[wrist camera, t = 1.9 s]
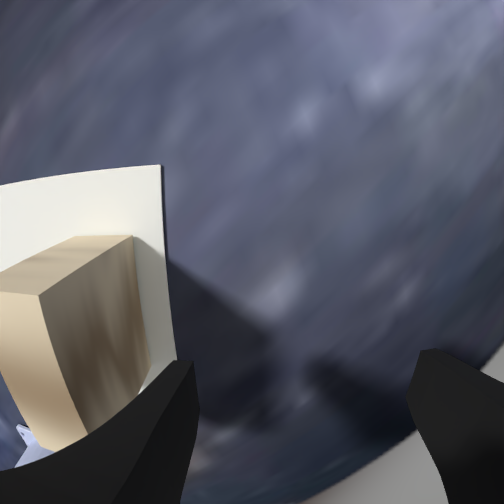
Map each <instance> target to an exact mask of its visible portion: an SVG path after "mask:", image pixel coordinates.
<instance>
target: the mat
mask: <svg viewBox="0 0 504 504" xmlns="http://www.w3.org/2000/svg"><path fill="white" fill-rule="evenodd" d="M97 235H133V246H134V256H135V265H136V274H137V282H138V290H139V297H140V304H141V311H142V317H143V323H144V329H145V335H146V340H147V346H148V351H149V356H150V361H151V368H150V370H149V372H148V374H147V376H146V379H145V381H144V383H143V385H142V387H141V389H140V391H139V394H140V393H141V392H142V391H143V390H144V389H145V388H146V387H147V386H148V385H149V384H150V383H151V382H152V381H153V380H154V379H155V378H156V377H157V376H158V375H159V374H160V373H161V372H162V371H163V370H164V369H165V368H166V367H167V366H168V365H169V364H170V363H171V362H172V361H173V360H177V355H176V348H175V341H174V334H173V326H172V318H171V309H170V301H169V291H168V281H167V270H166V258H165V245H164V230H163V212H162V187H161V165H149V166H136V167H125V168H115V169H105V170H96V171H88V172H80V173H72V174H65V175H58V176H52V177H45V178H39V179H33V180H27V181H22V182H17V183H11V184H6V185H1V186H0V272H2V271H3V270H5V269H7V268H9V267H11V266H13V265H15V264H17V263H19V262H21V261H23V260H25V259H27V258H29V257H31V256H33V255H35V254H37V253H39V252H41V251H43V250H46V249H48V248H50V247H52V246H54V245H56V244H58V243H61V242H63V241H65V240H67V239H69V238H72V237H74V236H97Z"/></svg>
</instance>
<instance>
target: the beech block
mask: <svg viewBox="0 0 504 504" xmlns="http://www.w3.org/2000/svg"><path fill="white" fill-rule="evenodd" d="M150 368H151V361H150V356H149V351H148V346H147V340H146V335H145V329H144V323H143V317H142V311H141V304H140V297H139V290H138V282H137V274H136V265H135V256H134V246H133V235H97V236H74V237H72V238H69V239H67V240H65V241H63V242H61V243H58V244H56V245H54V246H52V247H50V248H48V249H46V250H43V251H41V252H39V253H37V254H35V255H33V256H31V257H29V258H27V259H25V260H23V261H21V262H19V263H17V264H15V265H13V266H11V267H9V268H7V269H5V270H3V271H2V272H0V371H1V374H2V376H3V378H4V380H5V382H6V385H7V387H8V389H9V391H10V393H11V395H12V397H13V399H14V401H15V403H16V405H17V407H18V409H19V411H20V412H21V414H22V416H23V418H24V420H25V421H26V423H27V425H28V427H29V428H30V430H31V432H32V433H33V435H34V437H35V438H36V440H37V441H38V443H39V445H40V446H41V447H43V448H46V449H48V450H51V451H54V452H57V451H59V450H61V449H63V448H65V447H67V446H69V445H71V444H72V443H74V442H76V441H78V440H80V439H82V438H83V437H85V436H86V435H88V434H89V433H91V432H93V431H94V430H96V429H97V428H99V427H100V426H101V425H103V424H104V423H105V422H107V421H108V420H109V419H111V418H112V417H113V416H114V415H116V414H117V413H118V412H119V411H120V410H122V409H123V408H124V407H125V406H126V405H128V404H129V403H130V402H131V401H132V400H133V399H134V398H135V397H136V396H137V395H138V394H139V391H140V389H141V387H142V385H143V383H144V381H145V379H146V376H147V374H148V372H149V370H150Z"/></svg>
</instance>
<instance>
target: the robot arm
mask: <svg viewBox="0 0 504 504" xmlns="http://www.w3.org/2000/svg"><path fill="white" fill-rule="evenodd" d="M405 398H406V401H407V404H408V407H409V410H410V413H411V415H412V418H413V421H414V423H415V425H416V427H417V429H418V431H419V433H420V435H421V437H422V439H423V441H424V443H425V445H426V447H427V449H428V451H429V452H430V455H431V456H432V459H433V460H434V463H435V464H436V467H437V469H438V471H439V474H440V476H441V479H442V482H443V485H444V488H445V491H446V495H447V498H448V503H449V504H504V383H502V382H500V381H498V380H496V379H494V378H492V377H490V376H488V375H486V374H484V373H483V372H481V371H479V370H477V369H475V368H473V367H471V366H470V365H468V364H466V363H464V362H462V361H460V360H459V359H457V358H455V357H453V356H451V355H449V354H447V353H445V352H443V351H440V350H438V349H428V350H422V351H420V355H419V358H418V361H417V365H416V368H415V371H414V374H413V377H412V380H411V383H410V386H409V389H408V392H407V394H406V397H405ZM199 411H200V408H199V401H198V394H197V387H196V379H195V371H194V363H193V361H180V360H173V361H172V362H171V363H170V364H169V365H168V366H167V367H166V368H165V369H164V370H163V371H162V372H161V373H160V374H159V375H158V376H157V377H156V378H155V379H154V380H153V381H152V382H151V383H150V384H149V385H148V386H147V387H146V388H145V389H144V390H143V391H142V392H141V393H140V394H138V395H137V396H136V397H135V398H134V399H133V400H132V401H131V402H130V403H129V404H128V405H126V406H125V407H124V408H123V409H122V410H120V411H119V412H118V413H117V414H116V415H114V416H113V417H112V418H111V419H109V420H108V421H107V422H105V423H104V424H103V425H101V426H100V427H99V428H97V429H96V430H94V431H93V432H91V433H89V434H88V435H86V436H85V437H83V438H82V439H80V440H78V441H76V442H74V443H72V444H71V445H69V446H67V447H65V448H63V449H61V450H59V451H57V452H54V451H51V450H48V449H46V448H43V447H41V446H40V445H39V443H38V441H37V440H36V438H35V437H34V435H33V433H32V432H31V430H30V428H27V427H25V426H22V425H20V424H18V425H17V427H16V428H17V430H18V431H19V433H20V435H21V436H22V438H23V439H24V441H25V442H26V444H27V446H28V447H27V449H26V450H25V452H24V453H23V455H22V457H21V458H20V460H19V461H18V463H17V464H16V466H15V468H12V469H8V470H4V471H0V504H180V500H181V495H182V490H183V487H184V483H185V479H186V475H187V471H188V467H189V464H190V460H191V456H192V452H193V448H194V444H195V440H196V436H197V428H198V420H199Z"/></svg>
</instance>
